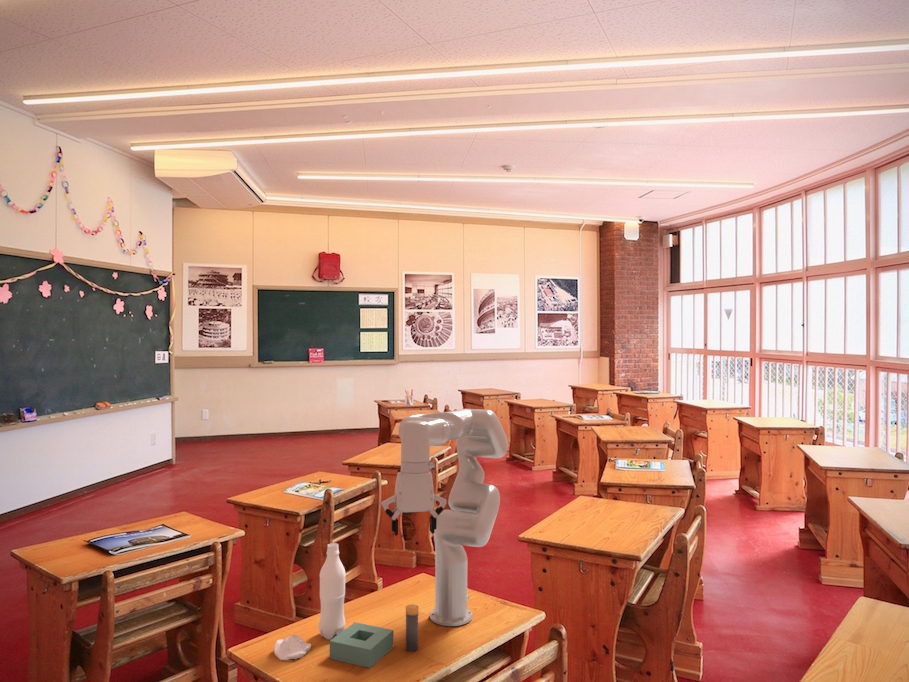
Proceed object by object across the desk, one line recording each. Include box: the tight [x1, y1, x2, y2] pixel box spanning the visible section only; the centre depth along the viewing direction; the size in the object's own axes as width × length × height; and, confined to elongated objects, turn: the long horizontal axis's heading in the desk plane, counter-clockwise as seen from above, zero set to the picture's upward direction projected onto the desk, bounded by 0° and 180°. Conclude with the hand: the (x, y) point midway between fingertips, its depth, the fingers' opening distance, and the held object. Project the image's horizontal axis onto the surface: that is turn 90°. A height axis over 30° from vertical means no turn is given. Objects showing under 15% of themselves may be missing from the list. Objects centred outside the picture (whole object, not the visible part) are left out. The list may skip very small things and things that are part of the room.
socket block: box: [329, 621, 394, 669], centre depth 160 cm, size 12×12×4 cm
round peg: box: [405, 604, 419, 653], centre depth 162 cm, size 3×3×11 cm
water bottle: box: [318, 542, 347, 641], centre depth 170 cm, size 7×7×25 cm
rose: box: [273, 634, 312, 661], centre depth 160 cm, size 10×4×10 cm
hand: (413, 533), depth 161 cm, fingers open, 9 cm apart
